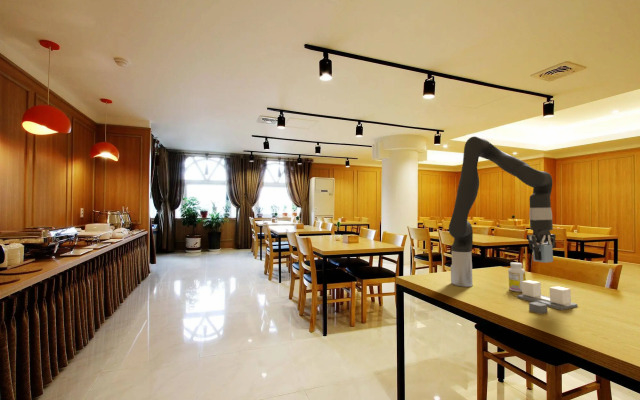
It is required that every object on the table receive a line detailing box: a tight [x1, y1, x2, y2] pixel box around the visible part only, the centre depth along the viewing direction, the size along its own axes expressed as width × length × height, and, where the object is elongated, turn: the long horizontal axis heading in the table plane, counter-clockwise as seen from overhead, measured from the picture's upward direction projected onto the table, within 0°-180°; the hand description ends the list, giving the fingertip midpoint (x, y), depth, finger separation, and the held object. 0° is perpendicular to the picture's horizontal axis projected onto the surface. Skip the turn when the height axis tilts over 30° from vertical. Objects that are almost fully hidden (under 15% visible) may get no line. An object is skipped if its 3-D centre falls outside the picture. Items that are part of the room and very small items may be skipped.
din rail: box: [516, 279, 579, 311], centre depth 119 cm, size 17×10×7 cm, turn 20°
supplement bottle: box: [507, 261, 527, 293], centre depth 136 cm, size 7×7×13 cm
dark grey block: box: [528, 301, 548, 315], centre depth 109 cm, size 4×4×3 cm
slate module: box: [532, 243, 554, 264], centre depth 119 cm, size 4×5×7 cm
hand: (542, 259), depth 119 cm, fingers closed on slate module, 5 cm apart
